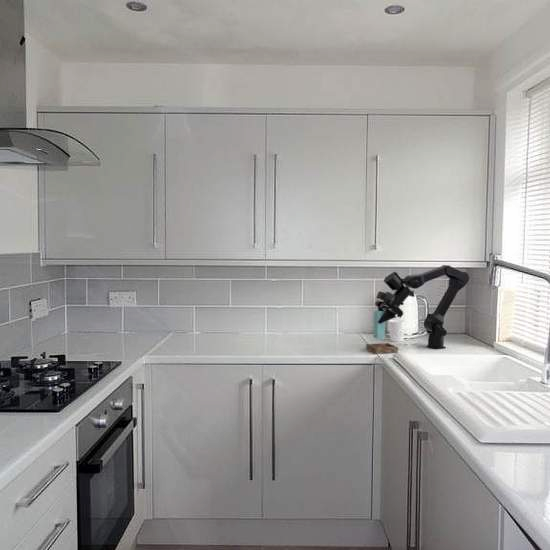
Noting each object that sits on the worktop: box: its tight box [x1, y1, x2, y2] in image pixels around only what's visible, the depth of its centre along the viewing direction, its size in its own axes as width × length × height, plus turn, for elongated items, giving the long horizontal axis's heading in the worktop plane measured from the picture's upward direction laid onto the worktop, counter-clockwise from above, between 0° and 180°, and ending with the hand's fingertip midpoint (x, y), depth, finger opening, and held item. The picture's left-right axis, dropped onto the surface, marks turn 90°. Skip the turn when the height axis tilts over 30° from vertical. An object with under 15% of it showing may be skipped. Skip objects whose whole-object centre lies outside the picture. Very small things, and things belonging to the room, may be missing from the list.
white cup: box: [388, 319, 406, 343], centre depth 262 cm, size 8×8×10 cm
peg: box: [373, 310, 386, 340], centre depth 237 cm, size 4×4×12 cm
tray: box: [365, 342, 399, 355], centre depth 237 cm, size 11×10×2 cm
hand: (376, 322), depth 236 cm, fingers closed on peg, 4 cm apart
